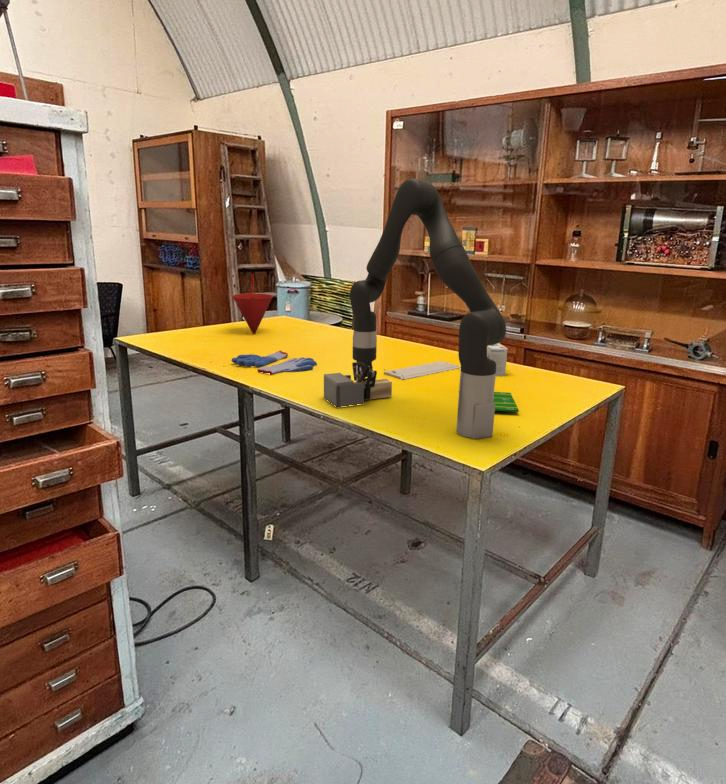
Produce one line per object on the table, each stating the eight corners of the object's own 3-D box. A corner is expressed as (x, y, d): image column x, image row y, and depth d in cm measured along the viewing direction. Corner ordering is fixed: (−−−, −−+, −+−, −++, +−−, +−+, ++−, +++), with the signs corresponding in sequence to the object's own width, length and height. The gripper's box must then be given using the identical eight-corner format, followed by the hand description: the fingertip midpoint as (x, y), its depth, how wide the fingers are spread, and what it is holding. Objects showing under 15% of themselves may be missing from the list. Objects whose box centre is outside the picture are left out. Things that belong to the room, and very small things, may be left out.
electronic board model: (520, 393, 170) (469, 391, 171) (518, 415, 172) (467, 413, 173) (507, 369, 198) (463, 367, 200) (505, 388, 200) (462, 386, 202)
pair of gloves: (327, 367, 226) (327, 358, 225) (278, 379, 207) (278, 370, 206) (273, 354, 245) (273, 346, 244) (224, 364, 226) (223, 355, 225)
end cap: (363, 404, 179) (364, 380, 176) (336, 408, 175) (336, 383, 173) (349, 395, 188) (349, 371, 186) (323, 398, 184) (323, 374, 182)
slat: (391, 396, 186) (391, 381, 185) (340, 403, 179) (340, 387, 177) (385, 393, 190) (386, 378, 188) (335, 399, 182) (335, 384, 181)
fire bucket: (233, 331, 292) (230, 271, 284) (271, 330, 297) (270, 271, 288) (234, 339, 272) (231, 275, 264) (276, 338, 277) (274, 275, 268)
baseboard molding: (463, 370, 225) (441, 364, 234) (463, 363, 225) (441, 357, 234) (405, 382, 207) (383, 375, 216) (405, 374, 206) (383, 368, 215)
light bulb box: (480, 369, 225) (482, 342, 222) (497, 369, 226) (499, 342, 223) (488, 376, 215) (490, 348, 212) (505, 376, 216) (508, 348, 213)
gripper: (385, 348, 175) (384, 402, 180) (365, 339, 187) (364, 390, 192) (363, 350, 172) (362, 404, 176) (344, 341, 184) (344, 392, 189)
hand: (363, 396), depth 184 cm, fingers closed on slat, 4 cm apart
